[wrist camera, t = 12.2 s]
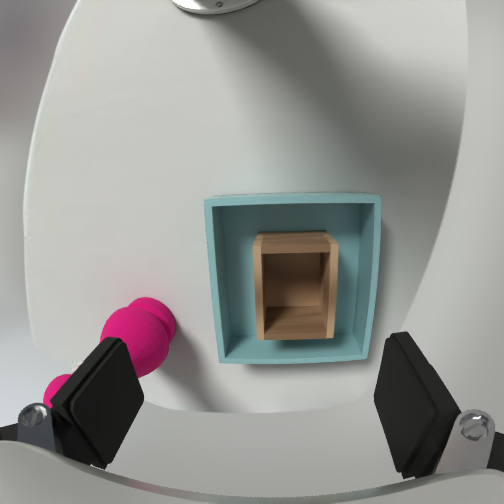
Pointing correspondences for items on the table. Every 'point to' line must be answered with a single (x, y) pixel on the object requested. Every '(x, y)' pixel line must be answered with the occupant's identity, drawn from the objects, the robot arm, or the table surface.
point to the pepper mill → (134, 338)
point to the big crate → (242, 271)
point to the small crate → (295, 284)
